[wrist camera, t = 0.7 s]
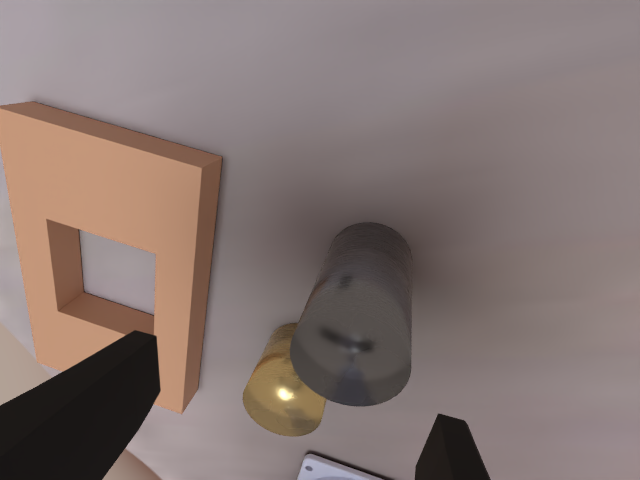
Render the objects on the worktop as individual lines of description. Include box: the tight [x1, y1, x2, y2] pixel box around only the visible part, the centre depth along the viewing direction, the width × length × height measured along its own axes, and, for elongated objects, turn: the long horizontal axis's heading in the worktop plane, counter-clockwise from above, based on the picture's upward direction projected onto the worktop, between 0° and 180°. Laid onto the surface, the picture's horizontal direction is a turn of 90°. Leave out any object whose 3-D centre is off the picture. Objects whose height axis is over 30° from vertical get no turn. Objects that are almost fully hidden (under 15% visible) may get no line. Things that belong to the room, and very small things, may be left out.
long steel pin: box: [290, 223, 412, 406], centre depth 16 cm, size 4×4×7 cm
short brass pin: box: [243, 323, 326, 436], centre depth 21 cm, size 4×4×4 cm
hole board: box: [0, 102, 222, 414], centre depth 21 cm, size 16×10×2 cm, turn 167°
